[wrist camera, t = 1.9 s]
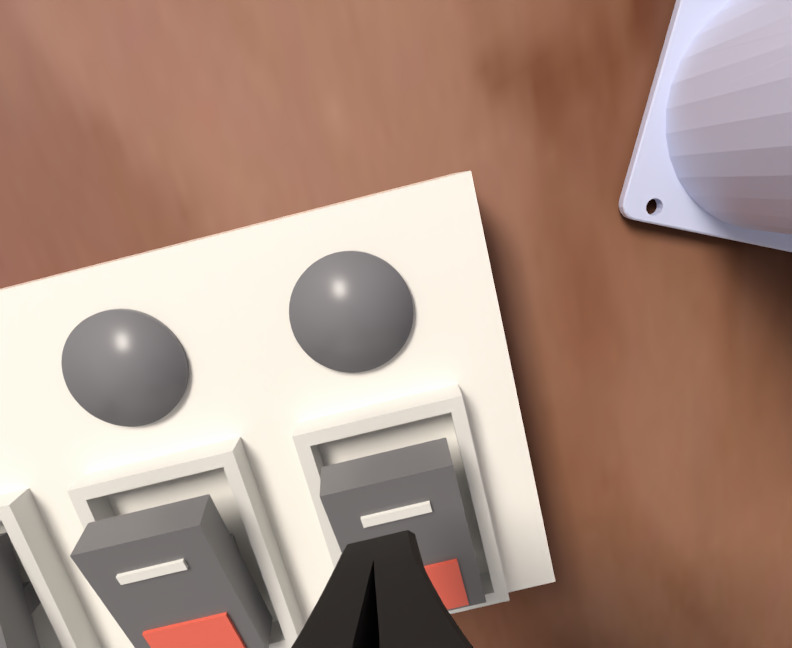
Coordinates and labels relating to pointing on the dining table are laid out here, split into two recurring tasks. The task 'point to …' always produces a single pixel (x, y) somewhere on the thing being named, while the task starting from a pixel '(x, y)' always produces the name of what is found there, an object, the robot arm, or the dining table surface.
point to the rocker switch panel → (262, 396)
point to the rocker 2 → (408, 512)
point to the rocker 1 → (14, 603)
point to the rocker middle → (174, 578)
